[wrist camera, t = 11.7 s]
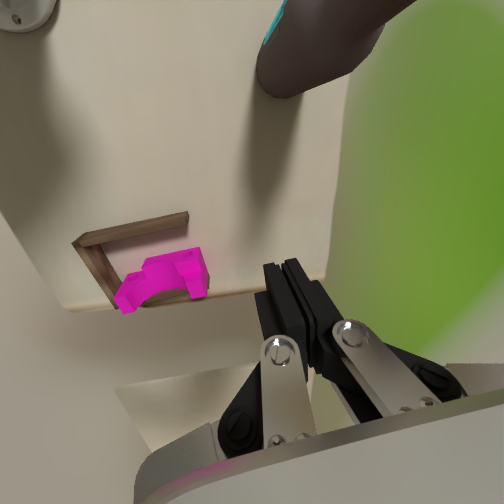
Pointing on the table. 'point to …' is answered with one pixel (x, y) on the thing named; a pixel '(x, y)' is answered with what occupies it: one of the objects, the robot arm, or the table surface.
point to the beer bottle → (320, 41)
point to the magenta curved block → (164, 278)
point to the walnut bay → (90, 241)
